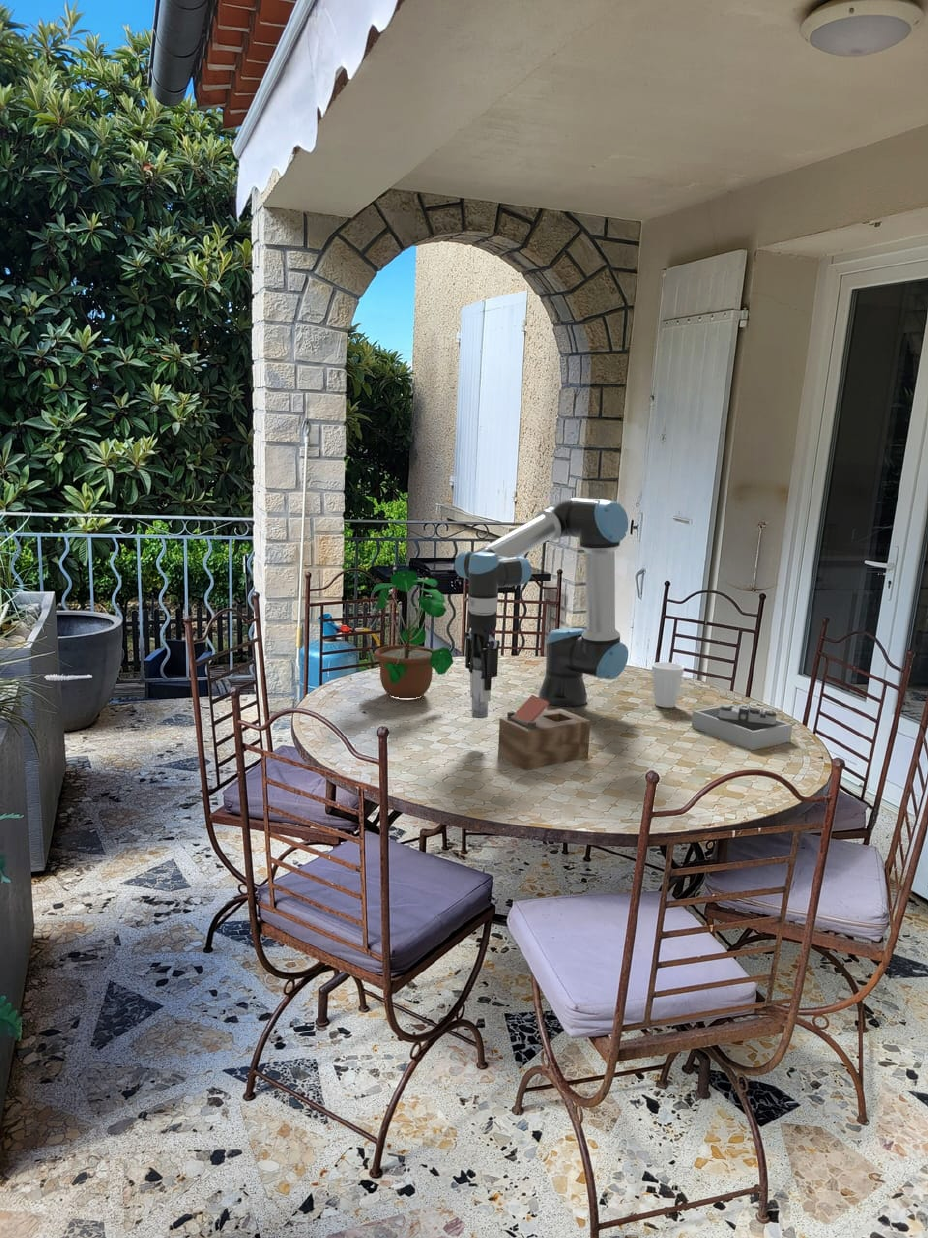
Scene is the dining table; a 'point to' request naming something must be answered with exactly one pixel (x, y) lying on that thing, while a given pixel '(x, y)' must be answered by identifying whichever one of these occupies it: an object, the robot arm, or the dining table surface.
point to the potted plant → (411, 642)
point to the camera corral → (740, 730)
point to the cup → (666, 683)
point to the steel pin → (478, 690)
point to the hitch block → (544, 739)
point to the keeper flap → (530, 710)
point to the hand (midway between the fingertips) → (480, 698)
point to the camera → (748, 717)
